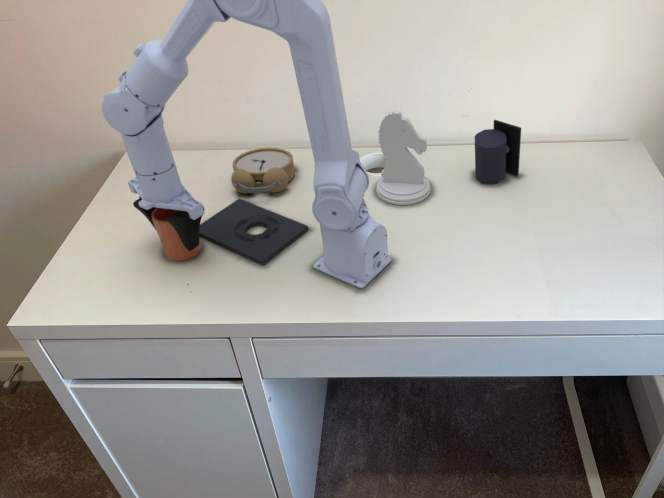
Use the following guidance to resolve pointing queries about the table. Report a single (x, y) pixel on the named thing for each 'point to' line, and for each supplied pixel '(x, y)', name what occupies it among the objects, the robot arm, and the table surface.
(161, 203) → the robot arm
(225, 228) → the drain mat
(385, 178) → the chess piece
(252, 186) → the alarm clock
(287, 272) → the table surface
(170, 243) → the cup
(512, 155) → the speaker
